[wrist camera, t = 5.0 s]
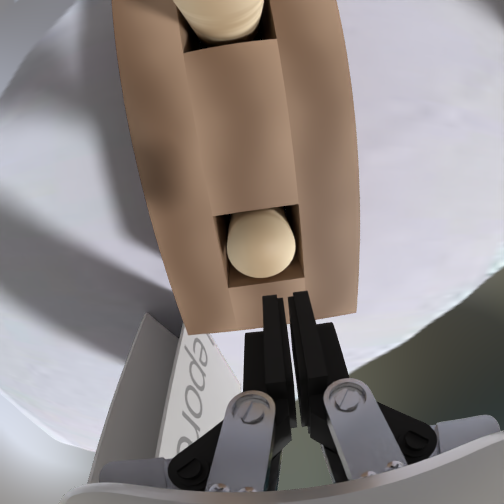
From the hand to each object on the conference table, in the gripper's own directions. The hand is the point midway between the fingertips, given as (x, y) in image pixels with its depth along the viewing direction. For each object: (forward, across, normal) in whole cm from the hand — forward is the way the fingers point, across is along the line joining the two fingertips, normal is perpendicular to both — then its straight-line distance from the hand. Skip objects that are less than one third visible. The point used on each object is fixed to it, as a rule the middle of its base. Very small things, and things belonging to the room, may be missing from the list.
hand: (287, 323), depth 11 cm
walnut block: (+15, +1, -7) cm, 17 cm away
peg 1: (+11, +1, -14) cm, 17 cm away
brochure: (+15, +10, +16) cm, 24 cm away
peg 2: (+15, +1, 0) cm, 15 cm away
